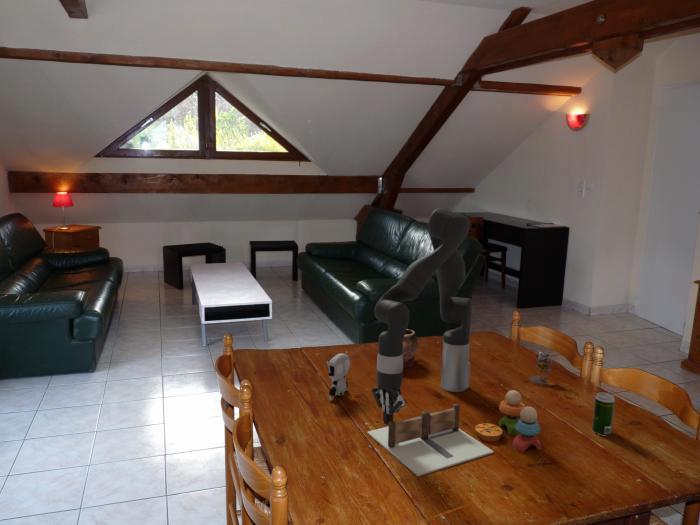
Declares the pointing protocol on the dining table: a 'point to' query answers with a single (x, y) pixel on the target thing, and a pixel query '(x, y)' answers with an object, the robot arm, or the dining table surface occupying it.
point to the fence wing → (404, 430)
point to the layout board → (433, 450)
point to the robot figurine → (541, 369)
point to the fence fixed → (440, 421)
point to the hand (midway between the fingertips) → (388, 423)
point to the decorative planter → (409, 348)
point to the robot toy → (338, 374)
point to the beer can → (603, 413)
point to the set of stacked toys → (513, 423)
